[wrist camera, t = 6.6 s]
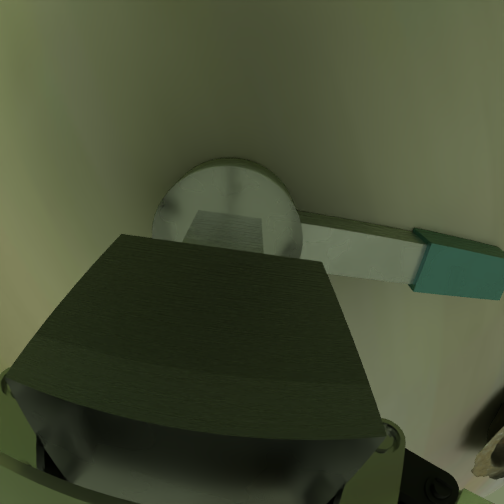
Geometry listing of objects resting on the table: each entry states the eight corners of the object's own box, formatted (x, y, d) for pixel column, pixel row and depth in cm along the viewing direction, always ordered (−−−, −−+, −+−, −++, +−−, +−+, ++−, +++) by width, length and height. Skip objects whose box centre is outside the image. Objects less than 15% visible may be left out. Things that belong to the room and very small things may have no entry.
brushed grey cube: (121, 234, 9) (4, 376, 4) (321, 261, 10) (386, 436, 4) (132, 374, 12) (87, 505, 6) (281, 395, 12) (291, 534, 7)
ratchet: (170, 150, 18) (122, 177, 11) (507, 220, 19) (568, 262, 12) (163, 271, 21) (129, 344, 14) (472, 306, 22) (516, 362, 16)
